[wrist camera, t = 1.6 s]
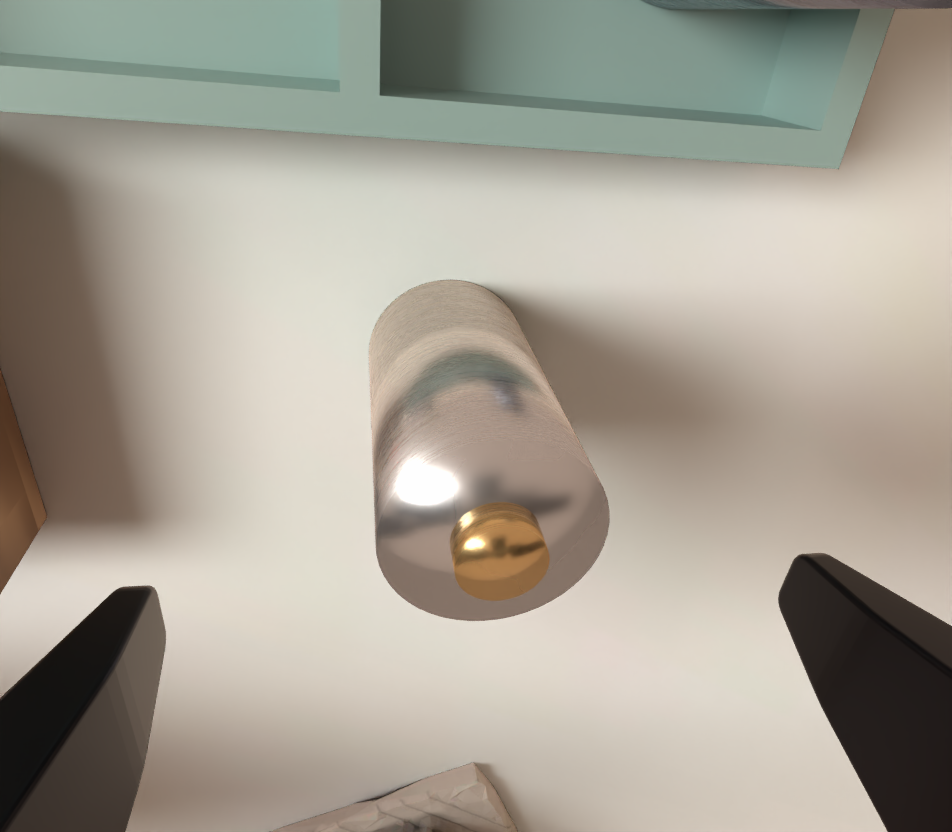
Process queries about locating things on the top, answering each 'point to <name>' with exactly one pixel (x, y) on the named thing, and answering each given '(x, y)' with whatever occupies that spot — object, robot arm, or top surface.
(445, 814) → the packaged product
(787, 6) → the dark cell
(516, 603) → the steel cell
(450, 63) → the trough tray
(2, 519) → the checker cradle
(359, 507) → the top surface
